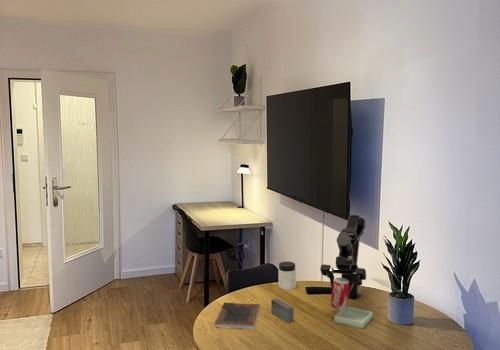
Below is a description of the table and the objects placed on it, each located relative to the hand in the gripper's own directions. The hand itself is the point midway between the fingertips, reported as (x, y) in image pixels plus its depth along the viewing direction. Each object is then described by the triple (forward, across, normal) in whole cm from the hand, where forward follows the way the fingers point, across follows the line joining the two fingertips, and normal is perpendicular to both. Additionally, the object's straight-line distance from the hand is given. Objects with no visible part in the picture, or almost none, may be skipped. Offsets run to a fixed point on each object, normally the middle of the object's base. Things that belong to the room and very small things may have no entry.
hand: (340, 290), depth 191 cm
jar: (-11, -32, +31) cm, 46 cm away
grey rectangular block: (+12, -24, +6) cm, 28 cm away
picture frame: (+18, -42, +2) cm, 46 cm away
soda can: (+5, -1, +7) cm, 8 cm away
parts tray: (+7, +5, +12) cm, 15 cm away
